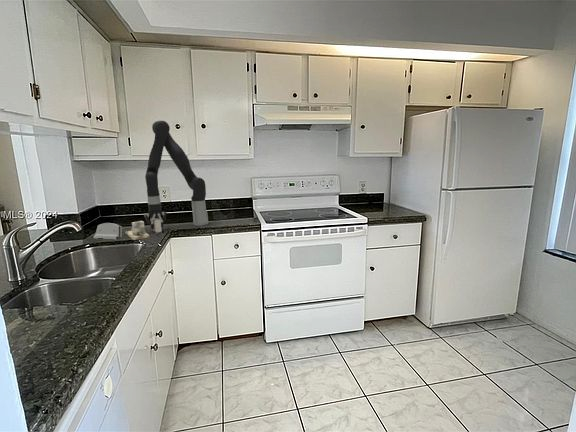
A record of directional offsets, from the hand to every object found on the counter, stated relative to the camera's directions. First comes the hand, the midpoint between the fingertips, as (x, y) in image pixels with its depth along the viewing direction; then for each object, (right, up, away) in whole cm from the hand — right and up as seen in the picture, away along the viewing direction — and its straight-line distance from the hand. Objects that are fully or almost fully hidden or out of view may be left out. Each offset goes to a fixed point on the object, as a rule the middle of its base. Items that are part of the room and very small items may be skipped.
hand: (157, 228), depth 207 cm
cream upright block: (0, -2, 0) cm, 2 cm away
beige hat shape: (-9, -4, -9) cm, 13 cm away
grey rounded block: (-25, -5, -11) cm, 28 cm away
